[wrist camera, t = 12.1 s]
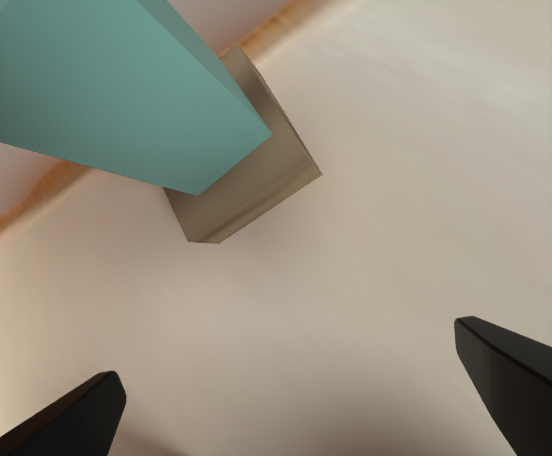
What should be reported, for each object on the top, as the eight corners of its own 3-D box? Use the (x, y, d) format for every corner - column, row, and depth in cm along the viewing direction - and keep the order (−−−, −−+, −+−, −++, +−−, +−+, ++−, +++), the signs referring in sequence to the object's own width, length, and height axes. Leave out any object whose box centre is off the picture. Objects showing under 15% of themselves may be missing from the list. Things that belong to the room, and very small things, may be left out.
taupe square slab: (323, 175, 21) (307, 159, 17) (221, 243, 24) (188, 242, 20) (262, 77, 23) (237, 43, 20) (175, 148, 26) (137, 131, 22)
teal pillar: (272, 134, 18) (63, -71, 7) (197, 196, 20) (-83, 119, 8) (222, 62, 20) (-23, -211, 8) (156, 125, 21) (-133, -28, 9)
